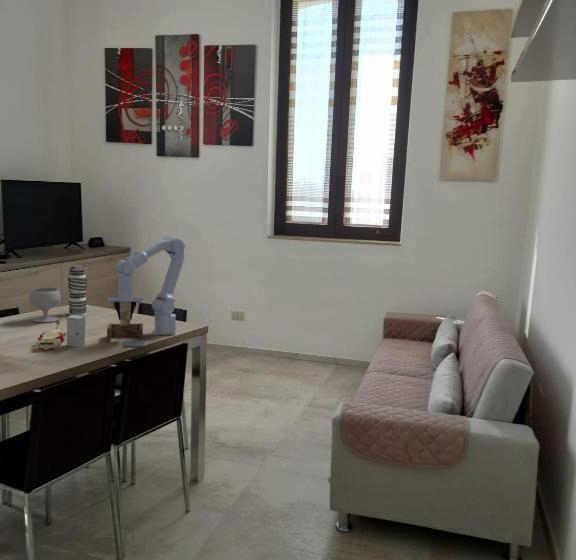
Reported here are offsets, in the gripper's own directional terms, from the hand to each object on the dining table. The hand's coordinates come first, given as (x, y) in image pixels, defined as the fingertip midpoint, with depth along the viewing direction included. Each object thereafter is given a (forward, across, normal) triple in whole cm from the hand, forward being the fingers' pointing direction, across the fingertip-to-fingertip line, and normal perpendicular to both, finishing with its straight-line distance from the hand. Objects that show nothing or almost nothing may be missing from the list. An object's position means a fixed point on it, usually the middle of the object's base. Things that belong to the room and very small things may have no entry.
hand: (125, 319), depth 238 cm
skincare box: (+9, +19, +7) cm, 23 cm away
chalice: (+9, +38, -39) cm, 55 cm away
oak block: (+2, 0, 0) cm, 2 cm away
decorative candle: (+9, +24, -52) cm, 58 cm away
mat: (+9, -4, +9) cm, 13 cm away
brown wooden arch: (+9, 0, -1) cm, 9 cm away
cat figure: (+9, +29, +3) cm, 31 cm away
